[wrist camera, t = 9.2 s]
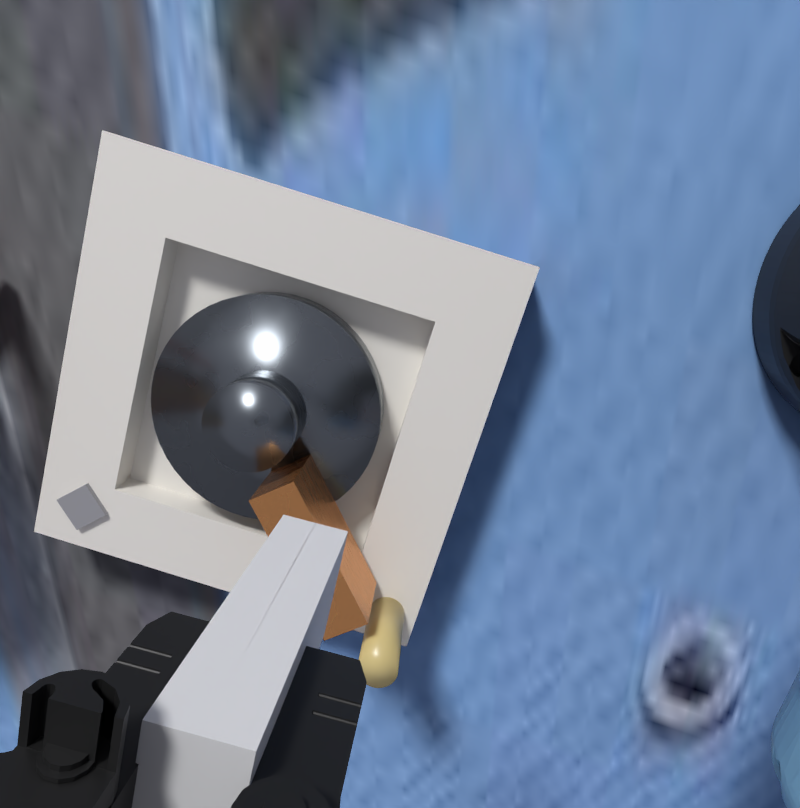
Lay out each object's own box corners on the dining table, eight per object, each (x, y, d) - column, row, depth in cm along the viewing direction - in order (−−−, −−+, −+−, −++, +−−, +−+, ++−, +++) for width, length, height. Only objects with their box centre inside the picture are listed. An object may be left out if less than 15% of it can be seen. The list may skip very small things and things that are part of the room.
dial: (127, 348, 35) (64, 369, 29) (322, 252, 33) (297, 255, 28) (270, 607, 39) (239, 672, 33) (456, 534, 37) (458, 589, 31)
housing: (530, 264, 35) (556, 271, 26) (409, 609, 40) (400, 708, 32) (138, 142, 35) (39, 109, 26) (71, 505, 40) (-29, 575, 32)
